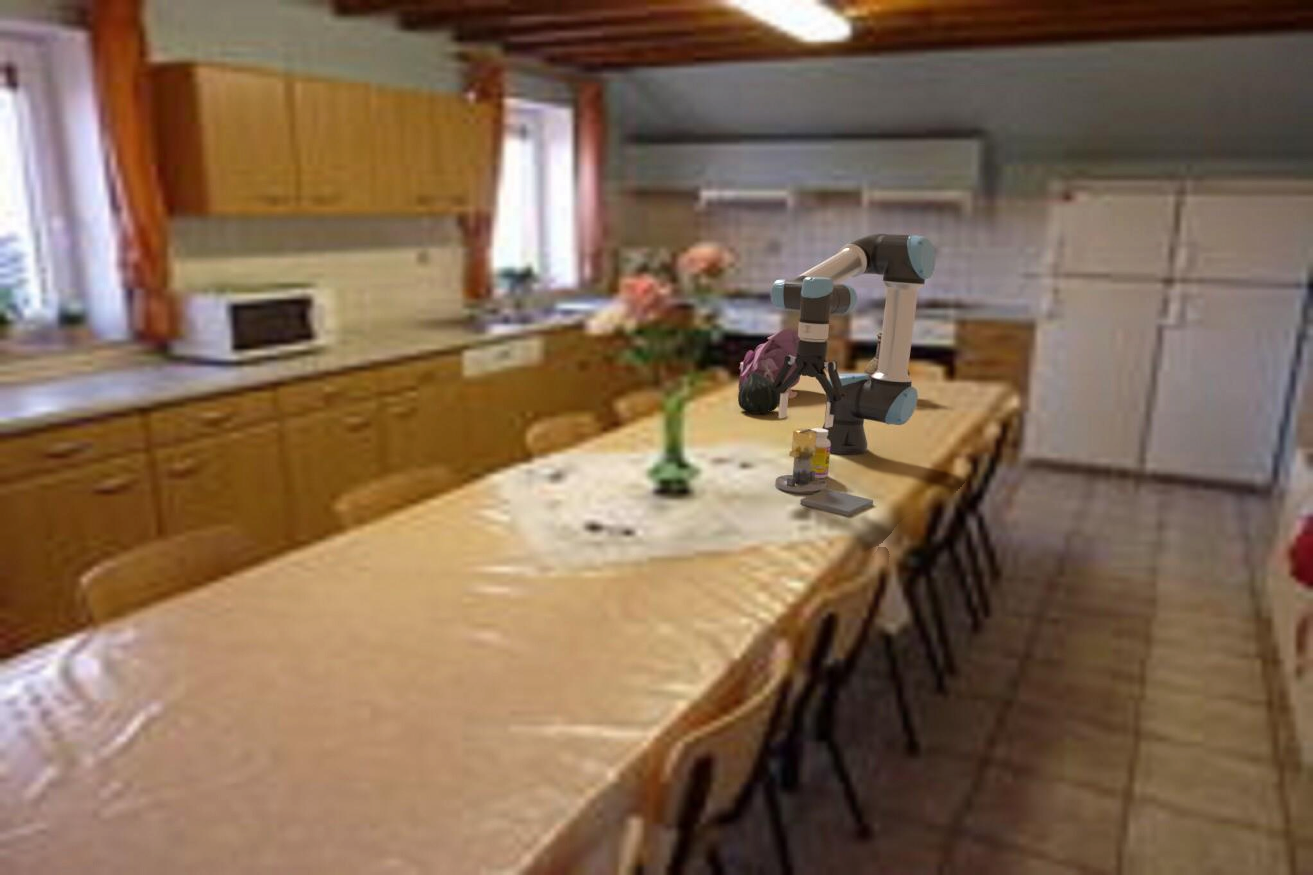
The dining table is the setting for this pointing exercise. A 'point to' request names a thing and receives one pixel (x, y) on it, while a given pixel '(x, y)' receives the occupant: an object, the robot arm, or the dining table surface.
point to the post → (801, 479)
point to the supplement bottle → (821, 454)
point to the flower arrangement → (771, 358)
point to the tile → (836, 502)
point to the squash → (757, 395)
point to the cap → (803, 443)
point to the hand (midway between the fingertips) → (805, 422)
